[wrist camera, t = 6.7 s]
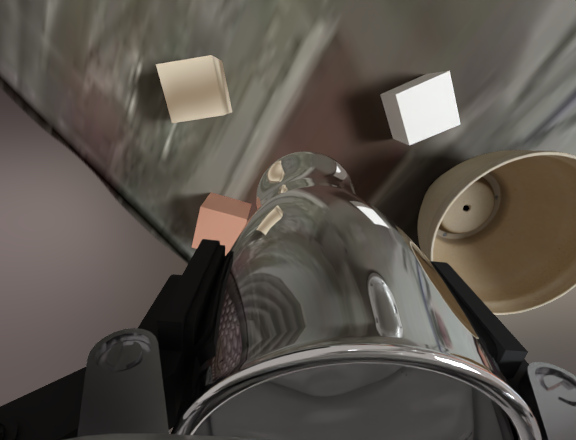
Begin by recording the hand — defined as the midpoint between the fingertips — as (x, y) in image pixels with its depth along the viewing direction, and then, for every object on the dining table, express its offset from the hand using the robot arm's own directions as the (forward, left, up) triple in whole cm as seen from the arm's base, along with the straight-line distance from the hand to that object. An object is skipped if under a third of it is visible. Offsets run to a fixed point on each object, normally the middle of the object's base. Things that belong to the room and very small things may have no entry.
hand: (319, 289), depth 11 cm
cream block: (-6, +12, -26) cm, 30 cm away
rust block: (+9, -7, -26) cm, 29 cm away
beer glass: (0, 0, -9) cm, 9 cm away
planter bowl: (+4, +21, -27) cm, 34 cm away
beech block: (-5, -10, -26) cm, 29 cm away
